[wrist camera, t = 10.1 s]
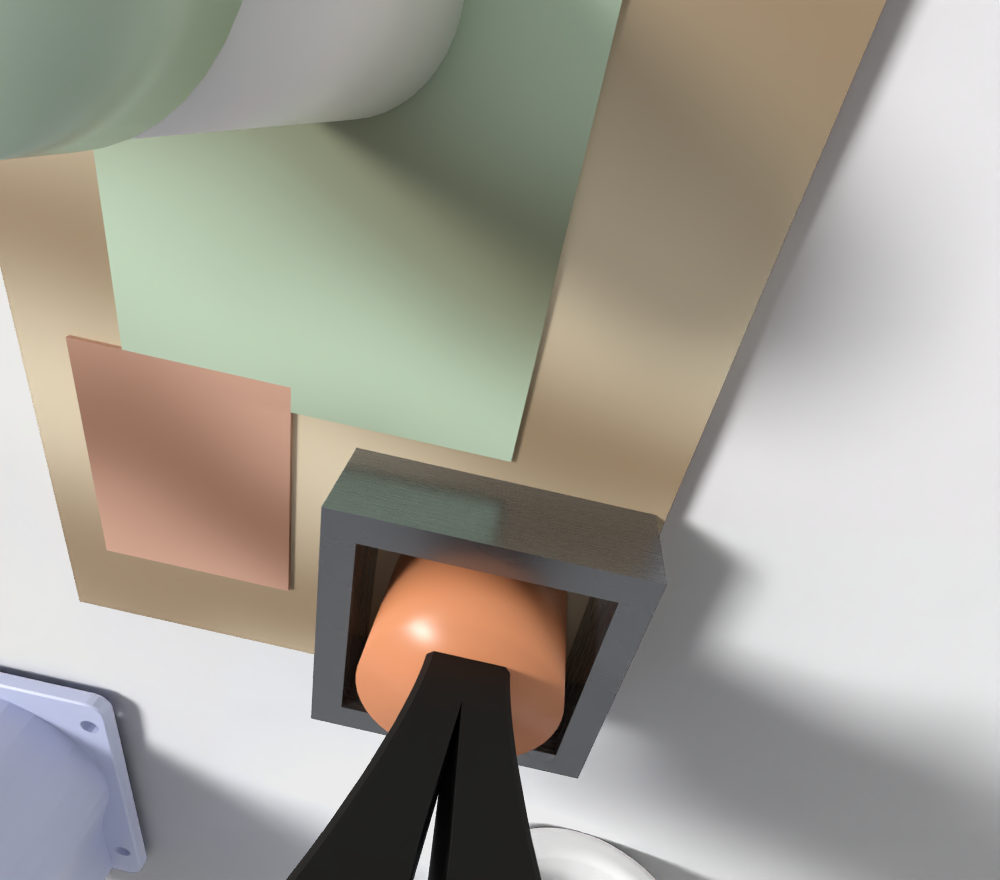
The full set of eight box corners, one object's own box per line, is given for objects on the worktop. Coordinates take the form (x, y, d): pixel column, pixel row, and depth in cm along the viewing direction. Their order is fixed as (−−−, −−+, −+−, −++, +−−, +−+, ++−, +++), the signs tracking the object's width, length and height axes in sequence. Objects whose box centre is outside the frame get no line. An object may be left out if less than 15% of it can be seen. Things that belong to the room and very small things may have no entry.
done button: (545, 671, 14) (538, 778, 12) (384, 635, 14) (349, 736, 12) (588, 549, 12) (588, 652, 10) (401, 508, 12) (363, 601, 10)
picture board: (582, 696, 15) (582, 718, 15) (94, 586, 15) (76, 604, 15) (969, -236, 7) (1001, -261, 6) (-136, -483, 7) (-198, -529, 6)
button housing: (578, 702, 14) (577, 778, 13) (340, 648, 14) (311, 718, 13) (655, 514, 11) (666, 584, 10) (356, 447, 11) (321, 506, 10)
